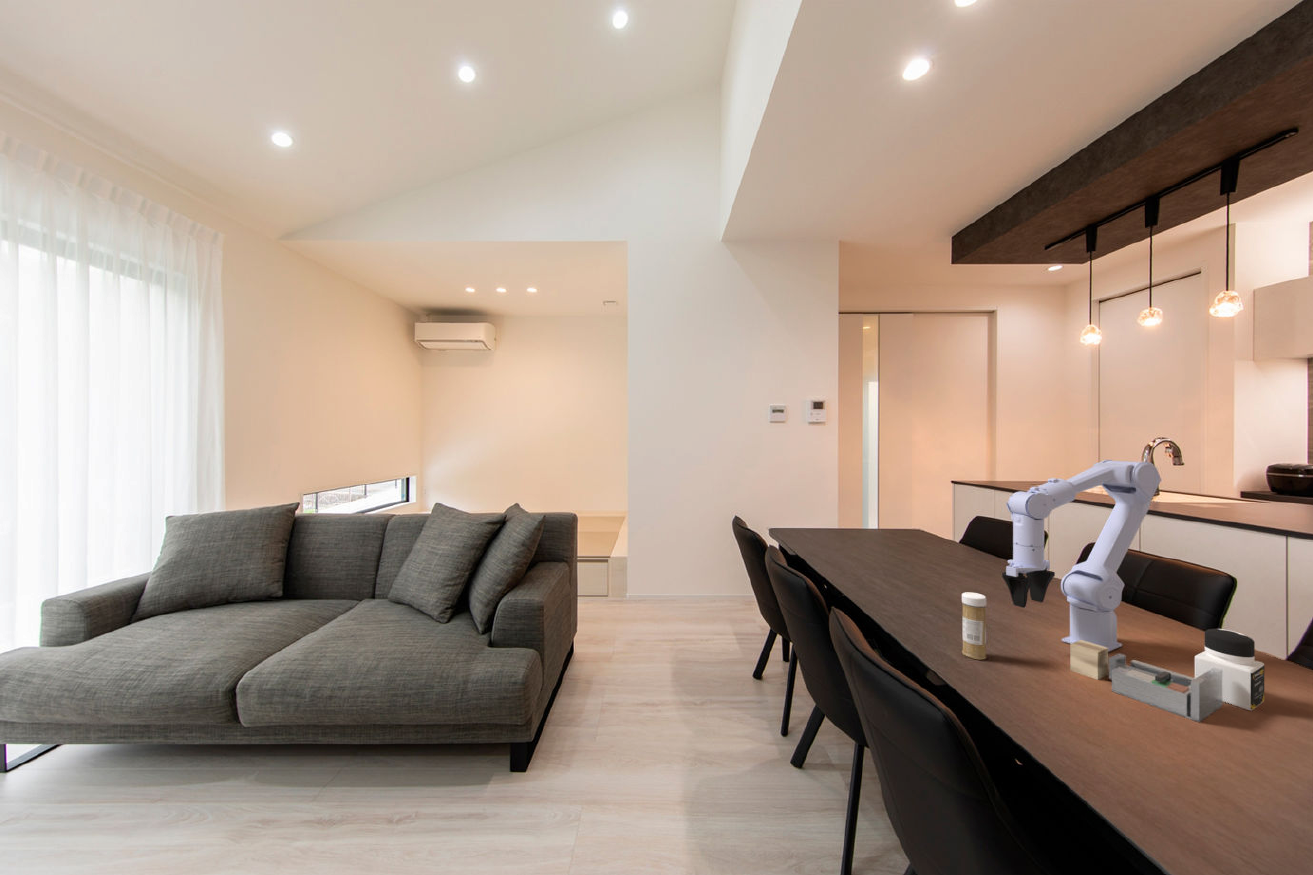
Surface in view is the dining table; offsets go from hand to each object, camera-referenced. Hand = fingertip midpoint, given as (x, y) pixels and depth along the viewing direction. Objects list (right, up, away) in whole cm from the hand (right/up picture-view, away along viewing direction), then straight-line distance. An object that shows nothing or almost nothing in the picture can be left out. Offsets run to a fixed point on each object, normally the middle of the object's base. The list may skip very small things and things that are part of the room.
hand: (1028, 603), depth 113 cm
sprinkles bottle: (-16, -10, -5) cm, 19 cm away
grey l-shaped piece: (+5, -9, -20) cm, 23 cm away
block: (+3, -10, -12) cm, 16 cm away
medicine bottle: (+21, -10, -22) cm, 32 cm away
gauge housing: (+8, -10, -22) cm, 26 cm away
